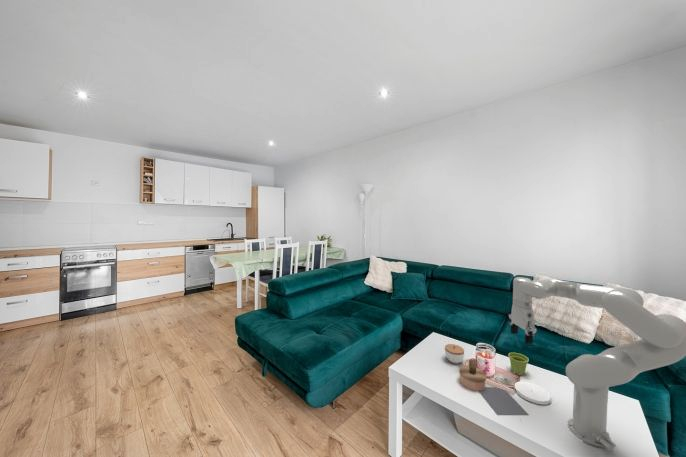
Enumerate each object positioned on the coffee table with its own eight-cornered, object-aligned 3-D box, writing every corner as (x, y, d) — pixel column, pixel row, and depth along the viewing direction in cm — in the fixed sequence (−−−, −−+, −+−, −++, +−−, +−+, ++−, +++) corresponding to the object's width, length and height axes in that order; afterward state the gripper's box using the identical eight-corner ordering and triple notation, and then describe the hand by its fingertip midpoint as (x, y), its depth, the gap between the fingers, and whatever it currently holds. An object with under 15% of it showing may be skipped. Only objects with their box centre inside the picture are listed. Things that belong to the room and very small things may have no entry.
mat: (529, 416, 108) (529, 415, 108) (497, 415, 108) (497, 415, 108) (502, 387, 126) (502, 387, 126) (475, 387, 126) (475, 387, 126)
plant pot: (532, 377, 134) (533, 361, 134) (514, 377, 135) (515, 361, 134) (520, 367, 144) (521, 352, 143) (504, 367, 144) (504, 352, 144)
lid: (491, 382, 123) (491, 368, 122) (466, 382, 123) (466, 368, 122) (477, 367, 135) (478, 354, 135) (455, 367, 135) (455, 354, 135)
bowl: (489, 391, 123) (489, 381, 123) (466, 391, 123) (466, 381, 123) (477, 376, 135) (477, 367, 135) (456, 376, 135) (456, 367, 135)
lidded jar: (440, 358, 153) (441, 343, 152) (453, 354, 157) (453, 339, 157) (455, 367, 143) (455, 352, 143) (468, 363, 147) (468, 347, 147)
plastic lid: (512, 382, 130) (512, 378, 130) (546, 391, 124) (546, 386, 124) (516, 400, 118) (516, 395, 118) (554, 411, 111) (554, 405, 111)
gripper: (544, 310, 111) (543, 347, 111) (517, 297, 128) (516, 330, 129) (527, 310, 111) (526, 347, 111) (502, 297, 128) (502, 330, 129)
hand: (521, 338), depth 120 cm, fingers open, 9 cm apart
